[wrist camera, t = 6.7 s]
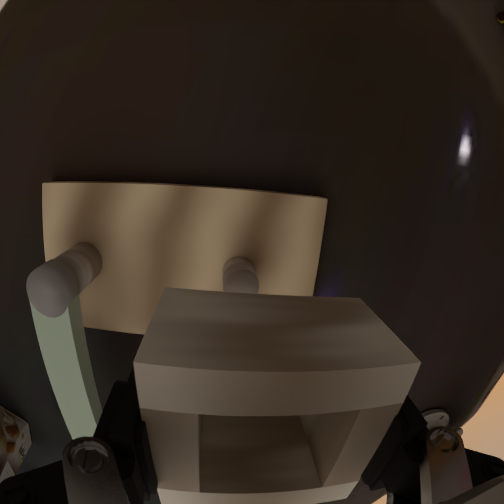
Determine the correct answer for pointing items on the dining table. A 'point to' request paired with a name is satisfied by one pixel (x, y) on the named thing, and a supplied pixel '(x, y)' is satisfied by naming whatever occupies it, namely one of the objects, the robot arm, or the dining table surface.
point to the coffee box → (12, 443)
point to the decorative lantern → (500, 17)
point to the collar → (266, 395)
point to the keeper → (64, 344)
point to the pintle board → (177, 243)
